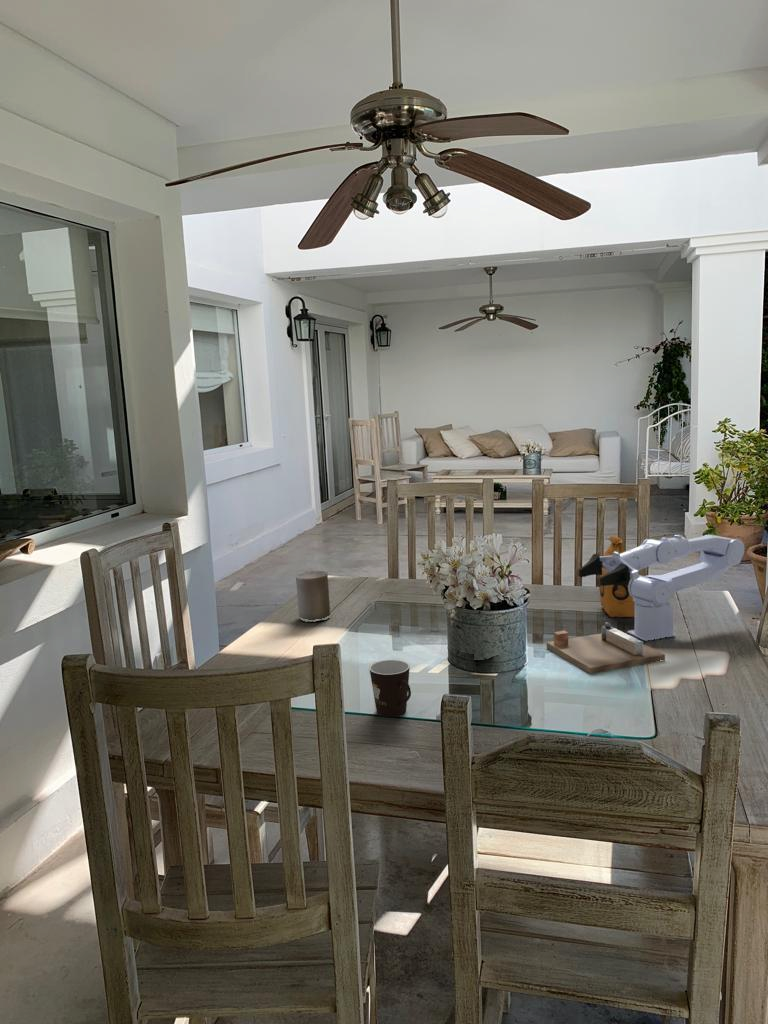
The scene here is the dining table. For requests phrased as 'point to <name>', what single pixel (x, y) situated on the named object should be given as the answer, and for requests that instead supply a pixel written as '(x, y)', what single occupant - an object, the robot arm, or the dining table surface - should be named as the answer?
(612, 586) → the coffee package
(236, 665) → the dining table surface
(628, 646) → the bar
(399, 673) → the coffee mug
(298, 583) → the pillar candle
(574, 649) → the brown wooden board
